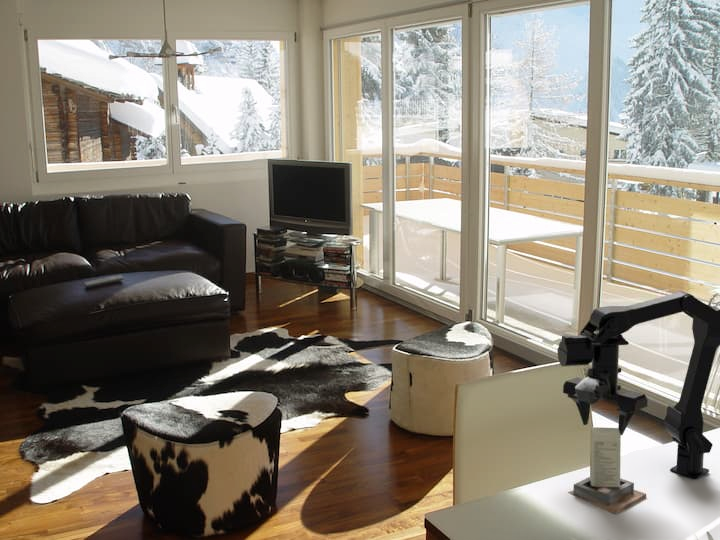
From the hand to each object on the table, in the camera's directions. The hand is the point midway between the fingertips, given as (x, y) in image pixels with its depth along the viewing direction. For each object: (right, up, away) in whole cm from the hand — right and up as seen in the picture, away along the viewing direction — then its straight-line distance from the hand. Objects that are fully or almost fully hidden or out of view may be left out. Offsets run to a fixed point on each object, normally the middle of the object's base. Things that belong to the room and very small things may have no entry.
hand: (602, 429), depth 187 cm
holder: (-1, -13, -7) cm, 15 cm away
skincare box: (-2, -11, -7) cm, 13 cm away
